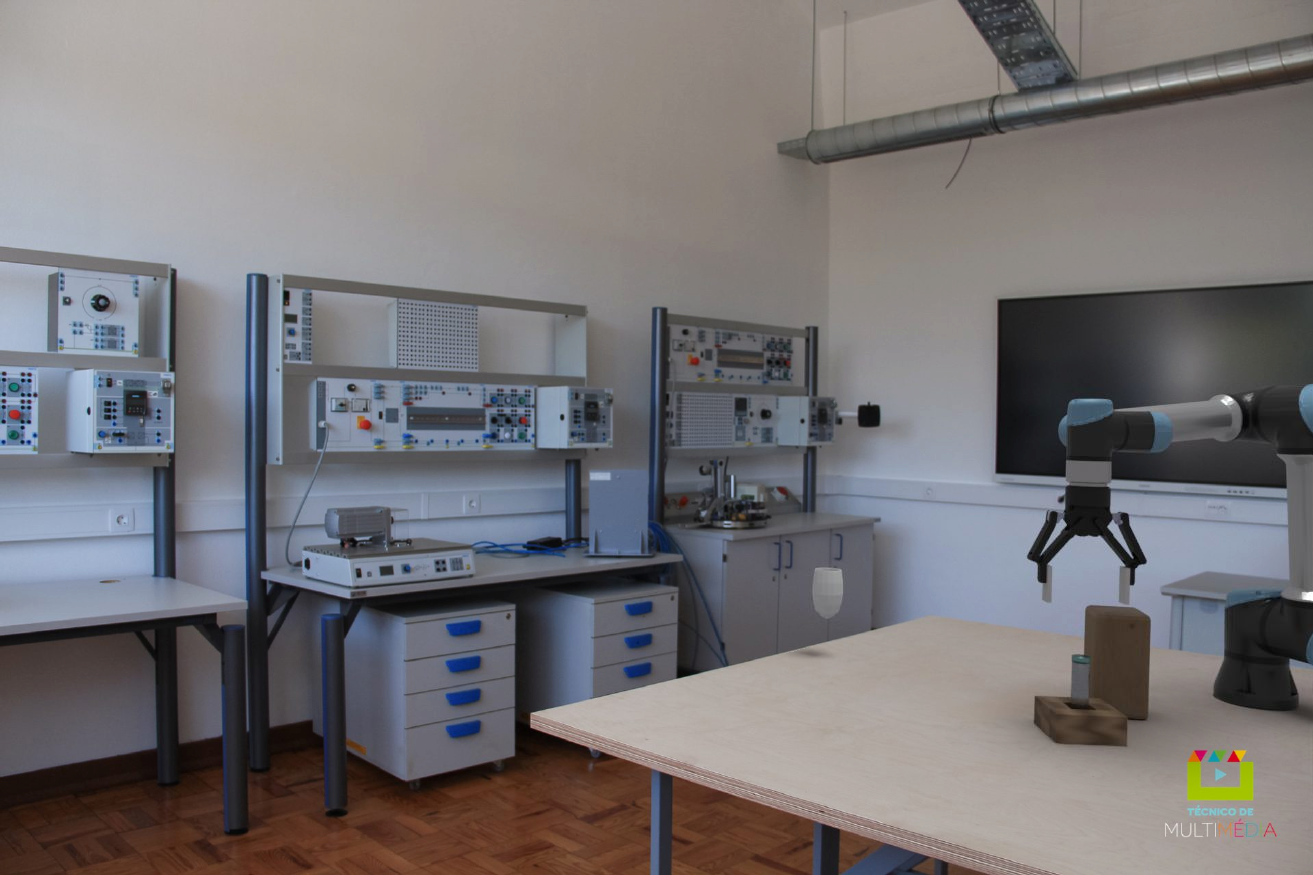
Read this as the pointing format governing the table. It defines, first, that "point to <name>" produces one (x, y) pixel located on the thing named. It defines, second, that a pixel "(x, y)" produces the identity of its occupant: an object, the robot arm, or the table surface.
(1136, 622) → the wooden block
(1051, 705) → the socket block
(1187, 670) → the table surface
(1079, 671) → the peg
